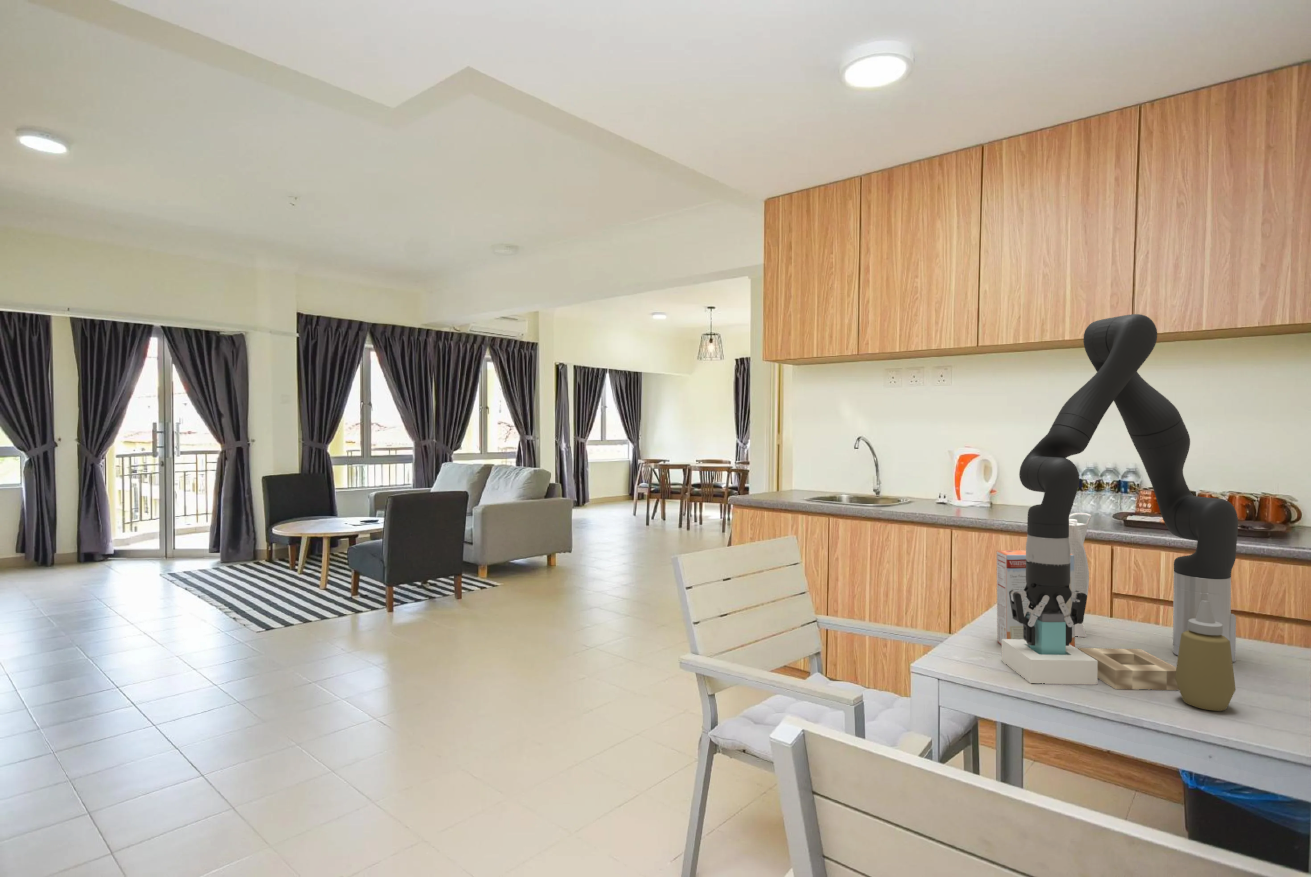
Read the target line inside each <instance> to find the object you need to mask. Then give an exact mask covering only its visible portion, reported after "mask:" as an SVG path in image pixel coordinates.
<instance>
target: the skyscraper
mask: <svg viewBox="0 0 1311 877" xmlns="http://www.w3.org/2000/svg"><path fill="white" fill-rule="evenodd" d="M1079 515H1080V516H1081V515H1082V516H1088V519H1087V520H1086V523H1082V522H1081V523H1080V522H1078V519H1074V518H1071V517H1073V516H1079ZM1091 518H1092V514H1090V513H1087V512H1074V513H1070V515H1069V543H1070V554H1072V555H1074V587H1075V591H1080V592H1082V593H1084V594H1086V595H1087V596H1089V588H1090V586H1089V585H1090V571H1089V561H1088V556H1087V552H1086V550H1085V545H1084V544H1085V539H1086V535H1087V531H1088V527H1089V524H1090V521H1091ZM1084 627H1085V626H1084V624H1083V623H1082V624H1075V636H1078V637H1077V638H1088V635H1087V632H1086V631H1085V630H1086V629H1085V628H1084Z"/></svg>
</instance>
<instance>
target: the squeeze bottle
mask: <svg viewBox="0 0 1311 877" xmlns="http://www.w3.org/2000/svg"><path fill="white" fill-rule="evenodd" d="M1188 629H1189V630H1187V631H1185V632H1183V633H1182V634H1181V639H1180V646H1179V653H1178V656H1177V662H1176V666H1175V667H1176V674H1175V680H1176V682H1177V685H1178V688H1179V690H1178V691H1179V693H1180V695H1181V699H1182V701H1183V702H1184V703H1186V704H1187V705H1189V706H1193V707H1194V708H1199V709H1202V710H1206V711H1207V710H1209V711H1214V712H1217V711H1218V712H1221V711H1226V710H1227V708H1228V707H1229V704H1230V702H1231V701H1232V699H1233V696H1234V695H1235V692H1236V690H1237V689H1236V682H1235V681H1236V680H1235V671H1234V665H1233V662H1232V654H1231V646H1230V641H1229V640H1228V639H1227V638H1226V637H1225V636H1222V634H1223V625H1222V624H1221V623H1219V622H1216V621H1215V619H1214V615H1213V612H1212V608H1211V604H1210V601H1205V600H1201V603H1200V606H1199V610H1198V613H1197V616H1196V619H1189V620H1188Z"/></svg>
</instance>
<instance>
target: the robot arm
mask: <svg viewBox="0 0 1311 877" xmlns="http://www.w3.org/2000/svg"><path fill="white" fill-rule="evenodd" d="M1157 341H1158V329H1157V326H1156V324H1155V322H1154V321H1153V320H1152V319H1151V318H1150V317H1149V316H1147V315H1146V314H1145V315H1144V314H1141V313H1140V314H1139V313H1132V314H1126V315H1124V314H1123V315H1120V316H1114V317H1108V318H1103V319H1098V320H1095V321H1093V322H1091V323H1090V324H1088V326H1087V327H1086V328H1085V330H1084V332H1083V346H1084V351H1085V353H1086V355H1087V357H1088V359H1089V361H1090V363H1091V364H1092V366H1093V368H1094V370H1095V371H1096V373H1095V374H1093V376H1092V377H1091V378H1090V379H1089V380H1088V381H1087V382H1086V383H1085V384H1084V385H1082V386H1081V387H1080V388H1079V389H1078V390H1077V391H1076V392H1074V393H1073V395H1072V396H1070V397H1069V398H1068V400H1067V401H1066V402H1065V403H1064V404H1063V406H1062V407H1061V409H1060V411H1059V412H1058V414H1057V416H1056V418H1055V419H1054V421H1053V422H1052V424H1051V427H1050V429H1049V431H1048V432H1047V434H1046V435H1045V436H1044V437H1043V438H1041V440H1040V441H1039V442H1037V444H1036V445H1035V446H1034V447H1033V448H1032V449H1031V451H1030V452H1029V453H1027V455H1026V456H1025V458H1024V459H1023V461H1022V462H1021V465H1020V468H1019V474H1018V475H1019V481H1020V484H1022V487H1024V488H1025V489H1027V490H1030V491H1032V492H1039V493H1044V495H1043V498H1042V501H1041V504H1034V505H1032V506H1030V507H1029V508H1028V509H1027V533H1026V534H1027V535H1026V542H1025V550H1026V587H1025V589H1024V590H1023V591H1013V590H1011V591H1009V597H1010V604H1011V610H1012V617H1013V619H1014V620H1016V621H1018V622H1019V623H1022V624H1023V638H1024V640H1025V641H1026V642H1027V643H1028V644H1029V645H1035V627H1034V624H1035V622H1036V620H1037V618H1038V617H1040V615H1041V613H1042V612H1047V611H1054V612H1060V613H1062V614H1064V622H1066V646H1069V643H1071V641H1072V627H1073V625H1075V624H1083V623H1084V618H1085V612H1086V607H1087V600H1088V595H1086V594H1084V593H1082V592H1080V591H1075V592H1074V591H1071V590H1070V587H1069V584H1070V559H1071V555H1070V543H1069V519H1070V518H1069V515H1070V514H1071V511H1072V509H1073V506H1074V502H1075V499H1076V496H1077V493H1078V489H1079V485H1080V474H1079V470H1078V468H1077V466H1076V464H1075V463H1074V462H1073V461H1072V460H1071V459H1068V458H1069V457H1071V456H1074V455H1078V454H1082V453H1083V452H1084V451H1085V450H1086V449H1087V447H1088V446H1089V443H1090V441H1091V440H1092V437H1093V436H1094V434H1095V433H1096V430H1097V429H1098V427H1099V425H1100V423H1101V421H1102V420H1103V417H1104V415H1105V414H1106V412H1107V411H1108V410H1109V408H1110V407H1111V405H1112V404H1113V403H1114V404H1115V406H1116V408H1117V411H1118V413H1119V414H1120V417H1121V419H1122V421H1123V424H1124V426H1125V427H1126V430H1127V432H1128V435H1129V437H1130V439H1131V442H1132V443H1133V446H1134V448H1135V450H1136V452H1137V454H1138V455H1139V457H1140V460H1141V462H1142V464H1143V467H1144V469H1145V471H1146V475H1147V477H1148V479H1149V482H1150V483H1151V487H1152V490H1153V492H1154V495H1155V498H1156V502H1157V504H1158V508H1159V511H1160V514H1161V518H1162V520H1163V523H1164V524H1165V526H1166V528H1167V530H1168V531H1169V532H1170V533H1171V534H1172V535H1173V536H1175V537H1177V538H1180V539H1184V540H1189V541H1196V542H1197V543H1196V544H1197V545H1196V549H1195V552H1193V553H1192V554H1189V555H1183V556H1181V555H1180V556H1178V557H1176V558H1174V560H1173V603H1172V604H1173V608H1172V609H1173V612H1172V613H1173V614H1172V619H1173V620H1172V652H1173V654H1174V655H1176V656H1177V657H1178V653H1179V646H1180V639H1181V634H1182V633H1183V632H1185V631H1187V630H1189V629H1188V620H1189V619H1196V616H1197V613H1198V610H1199V606H1200V603H1201V600H1205V601H1210V604H1211V608H1212V612H1213V615H1214V619H1215V621H1216V622H1219V623H1221V624H1222V625H1223V634H1222V636H1225V637H1226V638H1227V639H1228V640H1229V641H1230V646H1231V654H1232V663H1233V662H1234V663H1235V662H1236V659H1237V658H1236V657H1237V656H1236V651H1237V648H1236V647H1237V646H1236V645H1237V644H1236V643H1237V640H1236V639H1237V638H1236V637H1237V633H1236V632H1237V616H1236V615H1235V614H1234V613H1231V611H1232V609H1231V607H1232V604H1231V603H1232V570H1233V567H1234V565H1235V563H1236V556H1237V544H1238V542H1237V541H1238V534H1239V519H1238V513H1237V510H1236V509H1235V506H1234V505H1233V504H1232V503H1231V502H1230V501H1228V500H1226V499H1222V498H1218V497H1217V498H1216V497H1207V496H1195V495H1194V494H1193V493H1192V492H1191V490H1190V487H1189V486H1188V485H1187V482H1186V478H1185V476H1184V467H1185V463H1186V460H1187V458H1188V455H1189V450H1190V447H1191V438H1190V434H1189V431H1188V429H1187V427H1186V424H1185V422H1184V420H1183V417H1182V415H1181V413H1180V411H1179V410H1178V408H1177V407H1176V406H1175V405H1174V404H1173V402H1172V401H1171V400H1169V399H1168V398H1167V397H1166V396H1164V395H1163V394H1162V393H1161V392H1160V391H1158V390H1157V389H1155V388H1154V387H1153V386H1152V385H1151V384H1150V383H1148V382H1147V381H1146V380H1145V378H1143V377H1142V376H1141V375H1140V374H1139V373H1138V370H1139V369H1140V368H1141V367H1142V365H1144V363H1145V361H1147V359H1148V358H1149V356H1150V355H1151V354H1152V352H1153V350H1154V348H1155V346H1156V344H1157ZM1025 597H1027V599H1028V600H1029V603H1028V605H1027V607H1026V609H1025V610H1026V612H1025V614H1024V612H1023V605H1022V602H1024V598H1025ZM1070 597H1071V601H1072V607H1071V613H1069V610H1068V608H1067V606H1066V603H1067V601H1068V600H1069V599H1070ZM1034 608H1035V609H1034Z"/></svg>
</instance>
